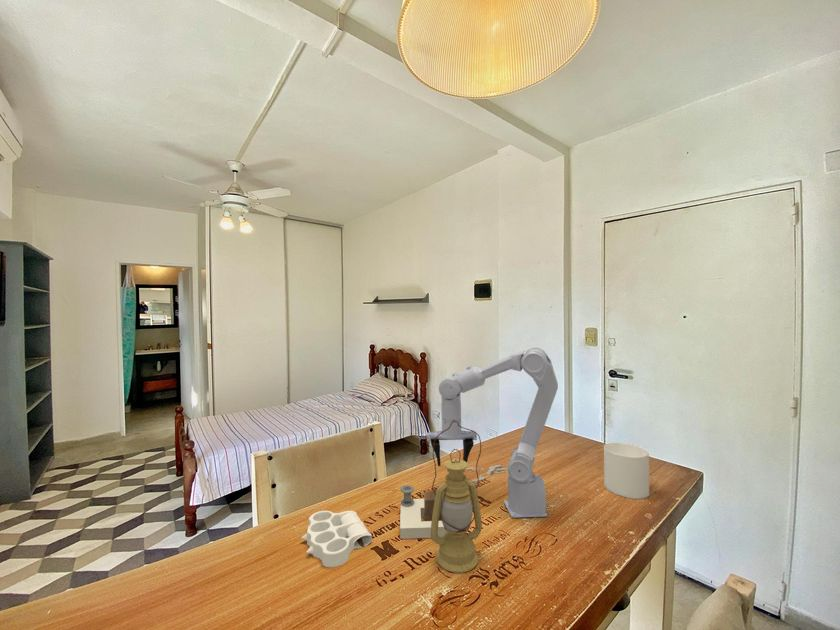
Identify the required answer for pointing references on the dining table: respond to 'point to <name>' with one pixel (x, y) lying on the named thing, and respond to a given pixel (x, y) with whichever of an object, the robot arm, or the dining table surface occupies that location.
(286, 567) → the dining table surface
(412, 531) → the slotted board
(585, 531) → the dining table surface
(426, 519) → the block
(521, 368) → the robot arm
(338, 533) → the white holed flat piece
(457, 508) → the lantern
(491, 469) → the pliers
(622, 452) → the cup
